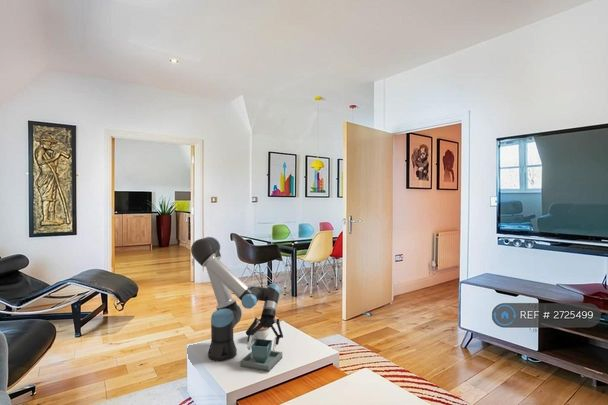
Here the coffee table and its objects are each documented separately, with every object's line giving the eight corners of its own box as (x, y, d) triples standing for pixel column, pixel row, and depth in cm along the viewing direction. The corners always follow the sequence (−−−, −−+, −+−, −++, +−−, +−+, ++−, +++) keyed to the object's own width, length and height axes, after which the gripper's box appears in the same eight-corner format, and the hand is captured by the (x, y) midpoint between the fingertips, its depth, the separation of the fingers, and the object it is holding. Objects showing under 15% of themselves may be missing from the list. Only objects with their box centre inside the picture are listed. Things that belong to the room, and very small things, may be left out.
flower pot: (267, 364, 165) (267, 346, 165) (250, 363, 167) (250, 345, 167) (272, 357, 174) (272, 339, 174) (256, 355, 175) (256, 338, 175)
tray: (240, 366, 165) (240, 360, 165) (255, 353, 180) (255, 347, 180) (268, 372, 160) (268, 365, 160) (282, 357, 175) (282, 352, 175)
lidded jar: (273, 337, 202) (273, 322, 202) (261, 343, 193) (261, 327, 193) (259, 333, 208) (259, 319, 208) (248, 339, 199) (248, 324, 199)
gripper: (292, 315, 184) (286, 354, 169) (249, 313, 188) (240, 350, 173) (289, 308, 178) (283, 348, 163) (246, 306, 183) (236, 344, 168)
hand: (261, 349), depth 168 cm, fingers open, 13 cm apart
